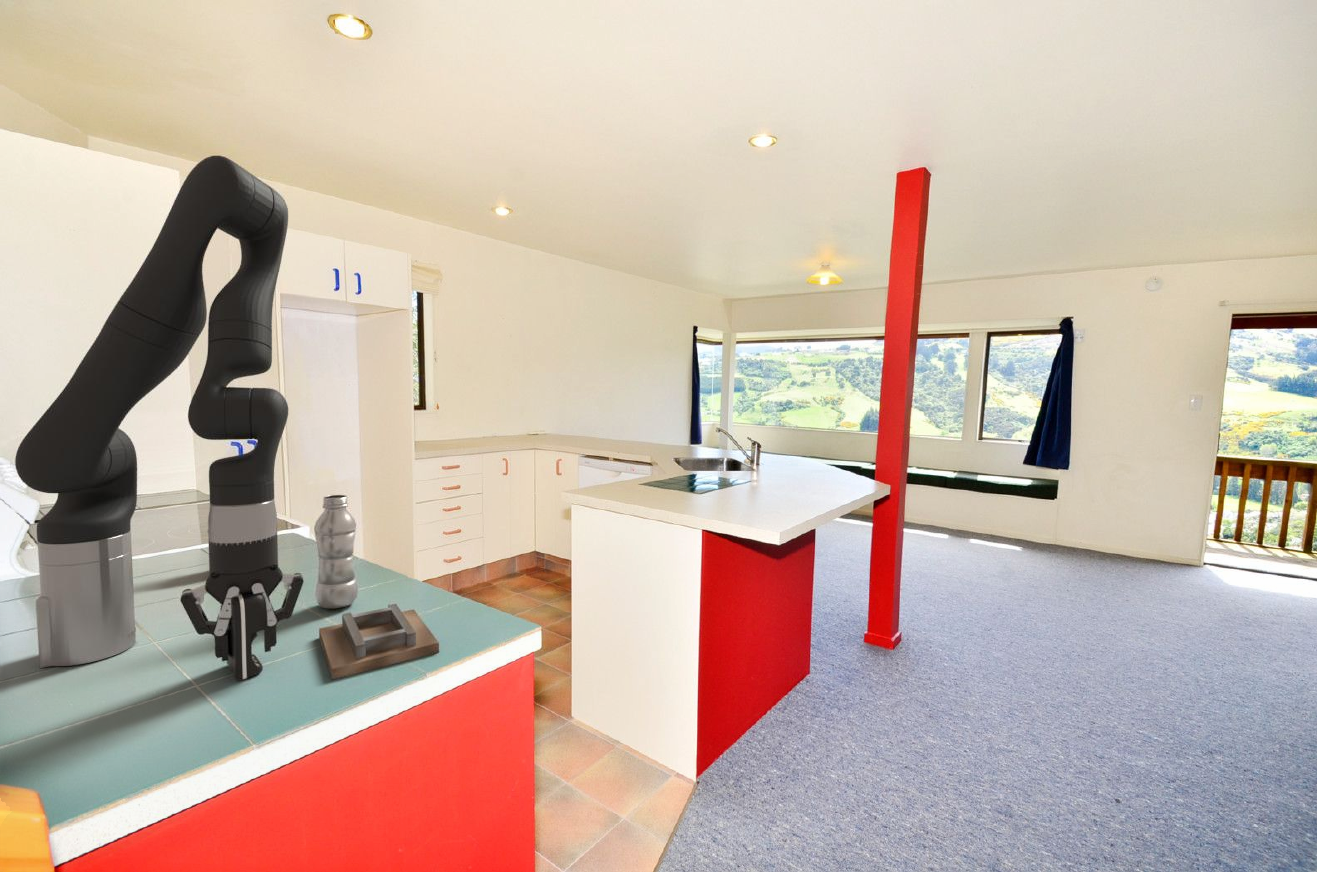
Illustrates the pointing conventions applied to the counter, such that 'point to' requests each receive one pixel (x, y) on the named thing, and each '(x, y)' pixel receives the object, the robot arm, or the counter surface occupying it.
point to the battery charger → (245, 633)
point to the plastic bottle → (335, 554)
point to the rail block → (375, 640)
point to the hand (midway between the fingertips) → (247, 653)
